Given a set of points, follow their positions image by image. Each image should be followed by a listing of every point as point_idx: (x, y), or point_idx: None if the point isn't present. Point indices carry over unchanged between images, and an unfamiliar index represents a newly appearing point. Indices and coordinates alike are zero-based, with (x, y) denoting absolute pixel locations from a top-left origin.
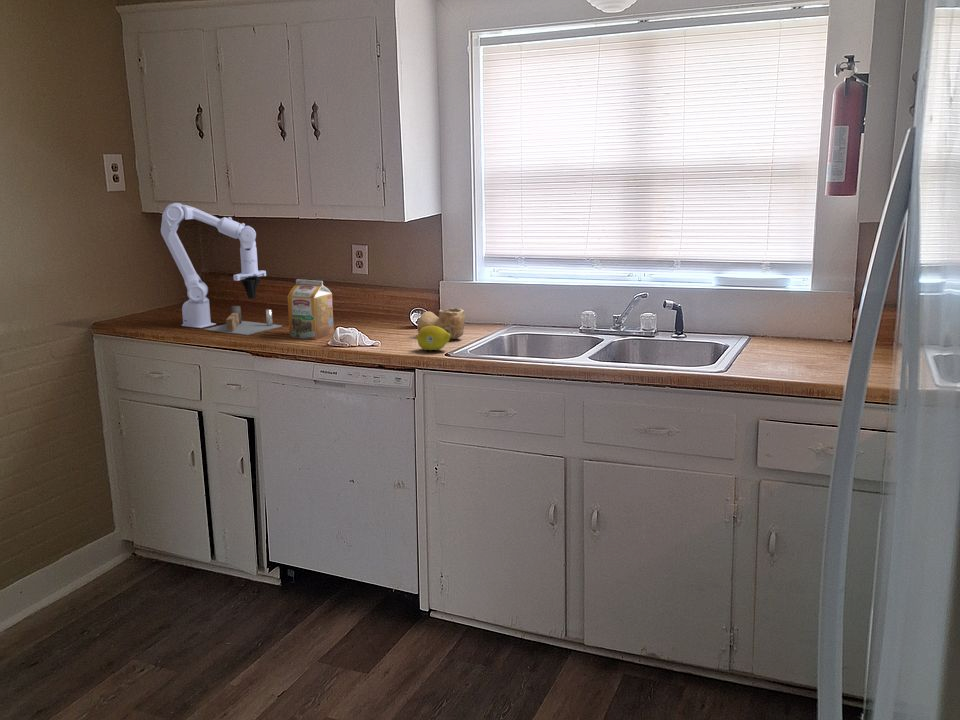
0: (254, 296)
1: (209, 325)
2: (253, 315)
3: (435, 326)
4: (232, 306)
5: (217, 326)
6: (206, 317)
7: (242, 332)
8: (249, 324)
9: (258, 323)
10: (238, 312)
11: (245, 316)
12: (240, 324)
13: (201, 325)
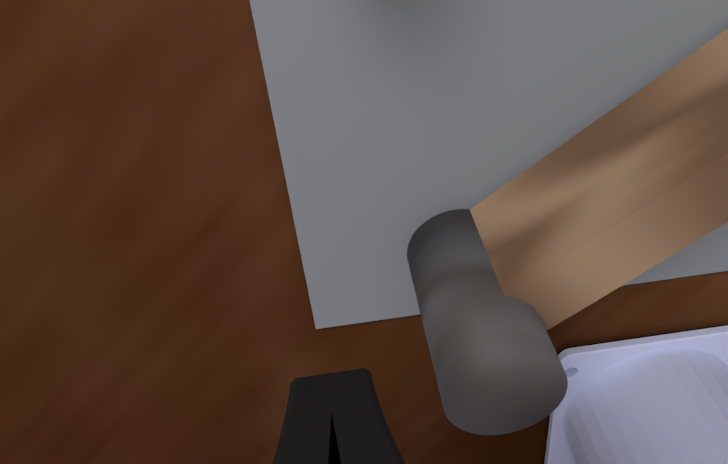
0: (313, 396)
1: (649, 339)
2: (41, 447)
3: None
4: (523, 421)
5: (656, 268)
6: (705, 406)
7: None
8: (419, 106)
9: (306, 68)
10: (505, 296)
11: (126, 454)
12: (471, 185)
13: (715, 356)
